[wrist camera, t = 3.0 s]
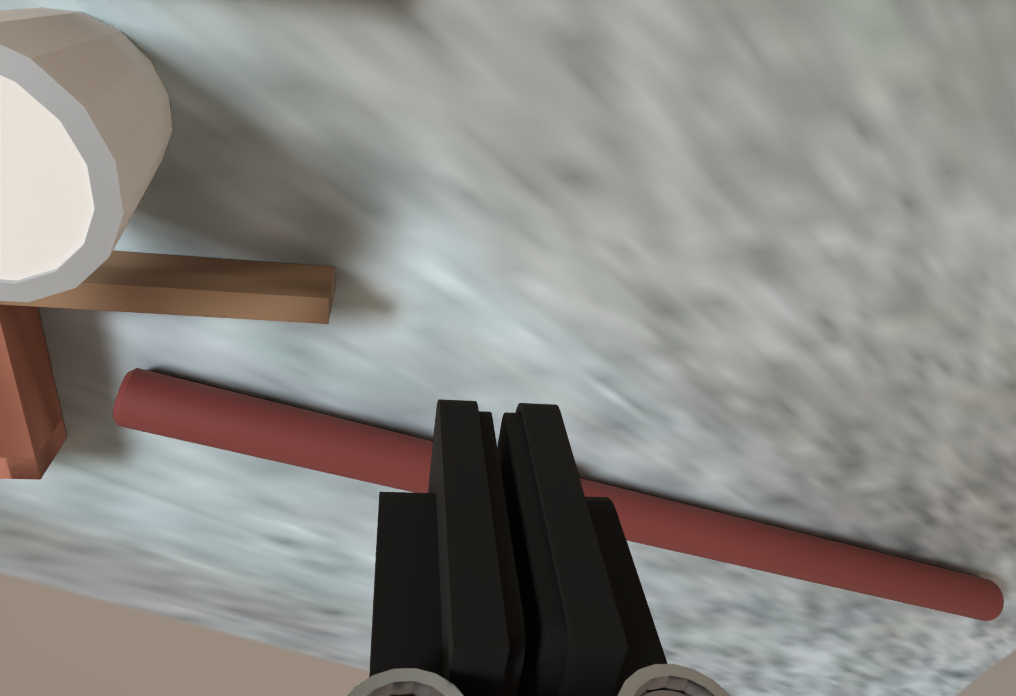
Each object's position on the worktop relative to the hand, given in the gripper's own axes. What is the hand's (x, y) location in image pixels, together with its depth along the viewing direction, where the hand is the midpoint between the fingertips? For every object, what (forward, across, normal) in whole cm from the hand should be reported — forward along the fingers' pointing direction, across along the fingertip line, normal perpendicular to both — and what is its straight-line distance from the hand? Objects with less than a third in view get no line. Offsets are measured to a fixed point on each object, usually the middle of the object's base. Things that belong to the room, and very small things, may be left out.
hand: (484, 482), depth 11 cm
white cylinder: (+17, +12, 0) cm, 21 cm away
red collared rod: (+18, -10, +16) cm, 26 cm away
